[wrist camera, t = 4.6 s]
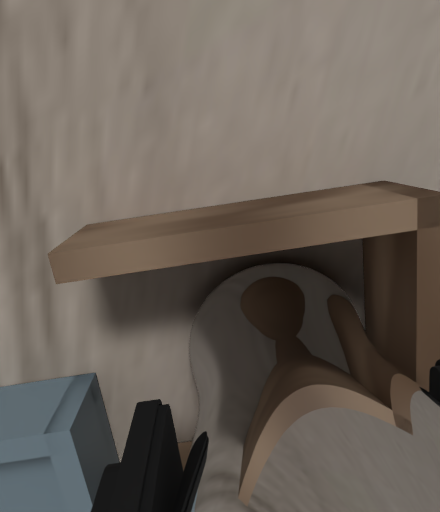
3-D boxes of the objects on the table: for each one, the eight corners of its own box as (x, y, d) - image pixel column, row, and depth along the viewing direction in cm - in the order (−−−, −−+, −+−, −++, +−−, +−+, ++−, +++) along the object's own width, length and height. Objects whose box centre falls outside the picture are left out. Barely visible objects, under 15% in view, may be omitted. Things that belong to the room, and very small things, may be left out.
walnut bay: (383, 180, 13) (449, 194, 10) (388, 426, 16) (439, 503, 12) (86, 224, 13) (47, 253, 9) (145, 464, 16) (131, 552, 12)
